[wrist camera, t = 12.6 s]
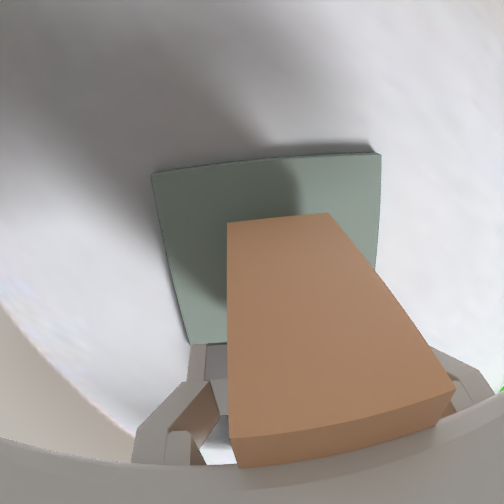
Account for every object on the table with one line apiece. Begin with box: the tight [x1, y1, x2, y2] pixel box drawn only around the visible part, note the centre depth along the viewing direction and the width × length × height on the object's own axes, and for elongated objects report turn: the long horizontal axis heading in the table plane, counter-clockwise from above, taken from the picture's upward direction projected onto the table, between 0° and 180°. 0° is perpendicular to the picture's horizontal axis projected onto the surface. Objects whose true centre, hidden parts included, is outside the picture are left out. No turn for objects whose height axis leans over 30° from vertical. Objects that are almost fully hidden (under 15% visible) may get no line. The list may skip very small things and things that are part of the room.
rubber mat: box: [151, 153, 381, 346], centre depth 15 cm, size 10×10×1 cm
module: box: [227, 212, 456, 468], centre depth 10 cm, size 6×4×9 cm, turn 5°
